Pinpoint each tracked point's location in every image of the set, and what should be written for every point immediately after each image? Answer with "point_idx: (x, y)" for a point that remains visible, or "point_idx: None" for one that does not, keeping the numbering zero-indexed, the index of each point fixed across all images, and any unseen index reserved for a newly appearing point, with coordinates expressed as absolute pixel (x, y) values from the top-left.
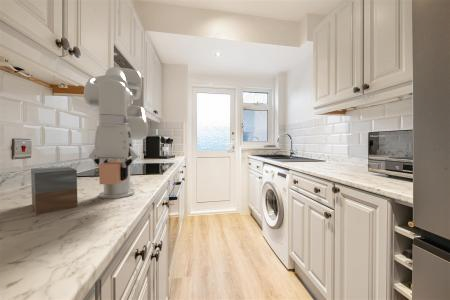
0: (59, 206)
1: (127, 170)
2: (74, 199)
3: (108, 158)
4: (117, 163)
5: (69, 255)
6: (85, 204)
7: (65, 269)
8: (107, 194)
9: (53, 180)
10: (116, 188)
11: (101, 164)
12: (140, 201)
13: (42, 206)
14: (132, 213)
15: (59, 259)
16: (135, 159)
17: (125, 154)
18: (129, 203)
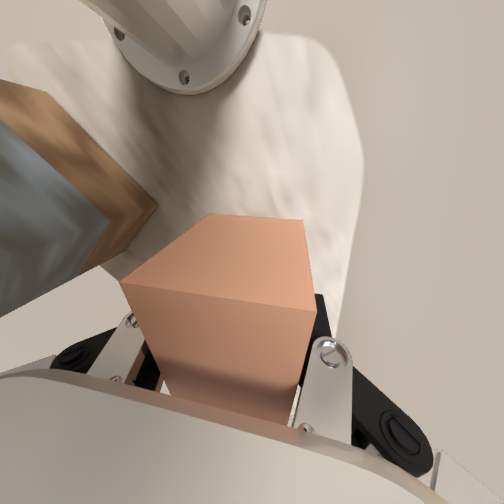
0: (133, 232)
1: (327, 327)
2: (138, 215)
3: (126, 383)
4: (272, 419)
5: None
6: (158, 175)
7: (295, 399)
8: (160, 58)
9: (48, 276)
10: (185, 35)
11: None
12: (340, 146)
13: (114, 252)
14: (331, 278)
15: None
16: (469, 481)
17: None
18: (299, 176)
